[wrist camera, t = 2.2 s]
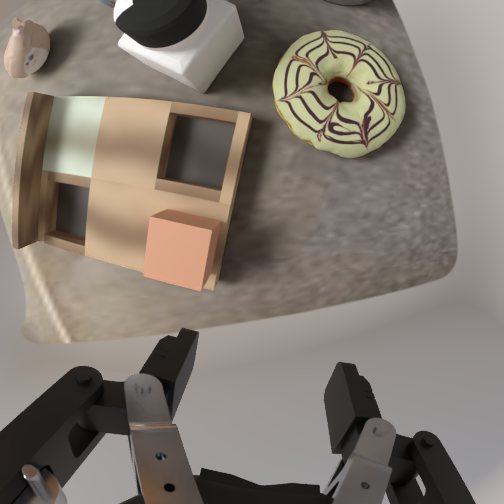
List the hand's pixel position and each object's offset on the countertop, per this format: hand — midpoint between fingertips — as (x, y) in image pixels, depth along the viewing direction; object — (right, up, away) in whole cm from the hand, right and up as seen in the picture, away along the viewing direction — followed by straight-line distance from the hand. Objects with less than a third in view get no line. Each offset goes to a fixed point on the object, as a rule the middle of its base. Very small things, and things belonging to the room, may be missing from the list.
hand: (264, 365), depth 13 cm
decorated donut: (+7, +19, +13) cm, 24 cm away
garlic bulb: (-26, +29, +13) cm, 41 cm away
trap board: (-13, +12, +16) cm, 24 cm away
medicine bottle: (-6, +24, +12) cm, 28 cm away
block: (-6, +6, +15) cm, 17 cm away
